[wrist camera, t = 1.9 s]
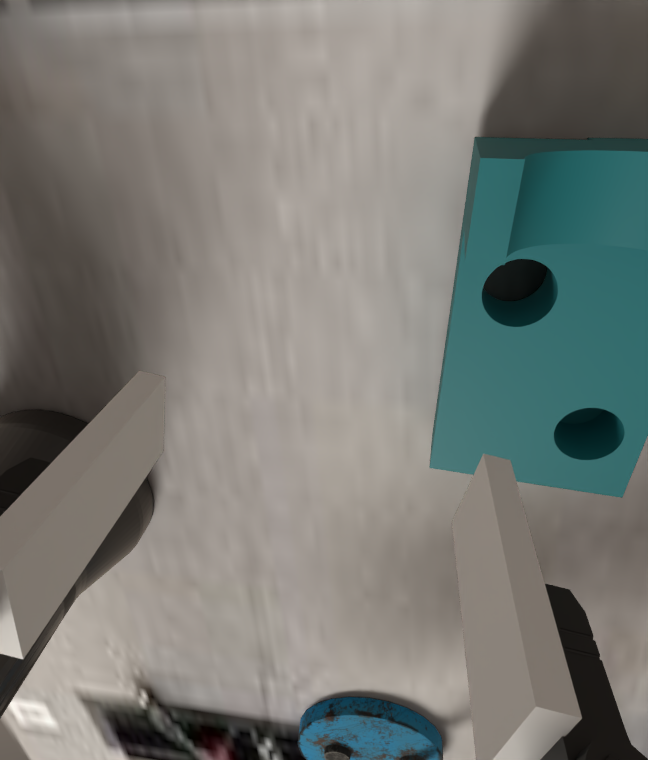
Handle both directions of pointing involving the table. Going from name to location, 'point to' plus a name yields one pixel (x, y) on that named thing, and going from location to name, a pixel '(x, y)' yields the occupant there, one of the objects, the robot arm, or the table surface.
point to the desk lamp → (366, 732)
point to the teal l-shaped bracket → (551, 316)
